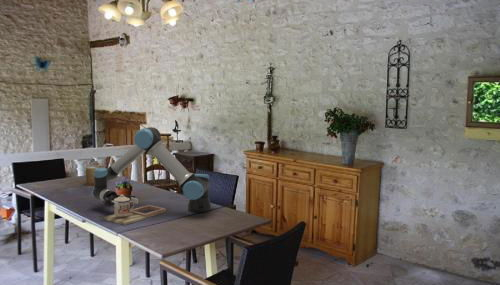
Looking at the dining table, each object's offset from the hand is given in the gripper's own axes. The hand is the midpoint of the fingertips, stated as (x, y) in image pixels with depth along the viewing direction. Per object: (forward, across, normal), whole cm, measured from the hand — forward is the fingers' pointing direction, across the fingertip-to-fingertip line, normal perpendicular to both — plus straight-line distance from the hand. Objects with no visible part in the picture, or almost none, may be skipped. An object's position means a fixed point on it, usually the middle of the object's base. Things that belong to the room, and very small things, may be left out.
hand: (127, 203), depth 238 cm
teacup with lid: (-4, 0, -7) cm, 8 cm away
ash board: (-4, 0, -10) cm, 11 cm away
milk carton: (-103, -33, -10) cm, 109 cm away
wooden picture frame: (-7, -17, -10) cm, 21 cm away
